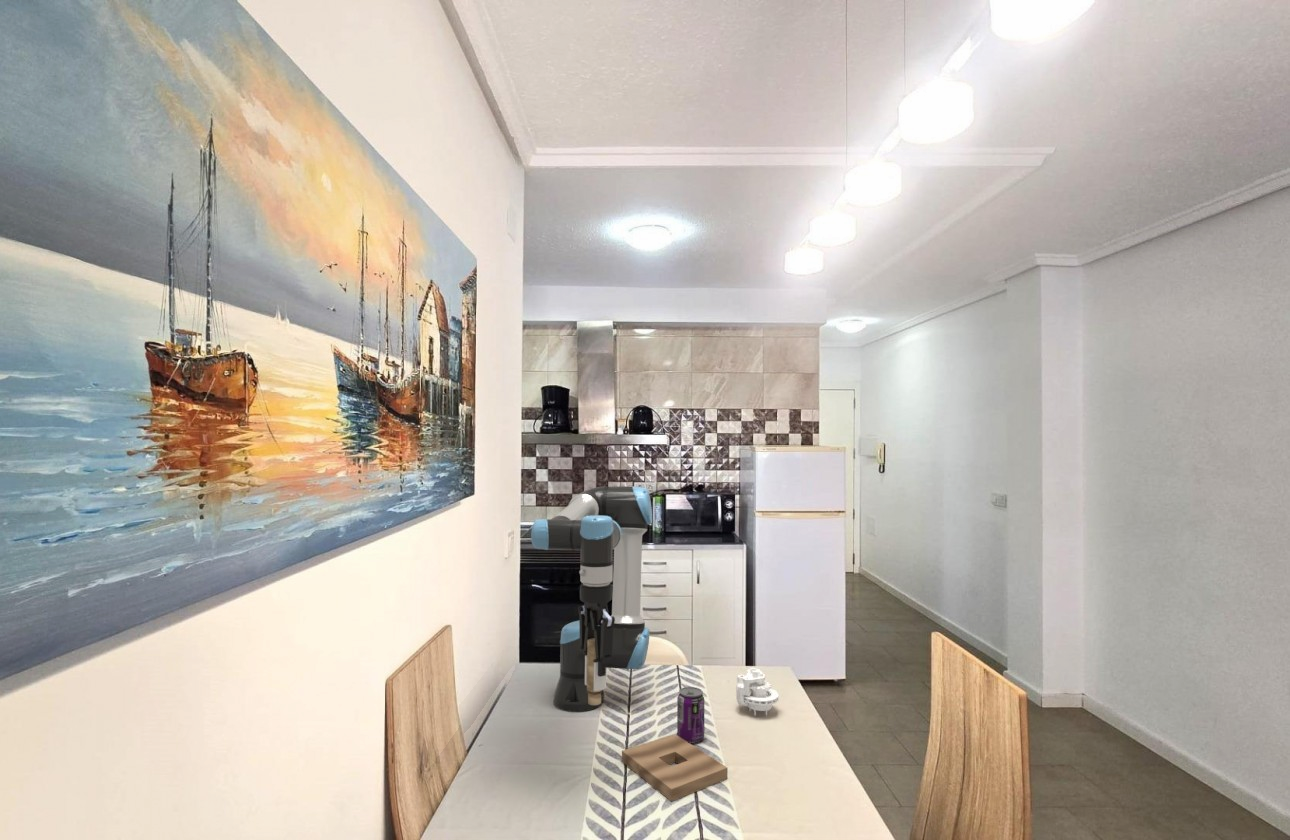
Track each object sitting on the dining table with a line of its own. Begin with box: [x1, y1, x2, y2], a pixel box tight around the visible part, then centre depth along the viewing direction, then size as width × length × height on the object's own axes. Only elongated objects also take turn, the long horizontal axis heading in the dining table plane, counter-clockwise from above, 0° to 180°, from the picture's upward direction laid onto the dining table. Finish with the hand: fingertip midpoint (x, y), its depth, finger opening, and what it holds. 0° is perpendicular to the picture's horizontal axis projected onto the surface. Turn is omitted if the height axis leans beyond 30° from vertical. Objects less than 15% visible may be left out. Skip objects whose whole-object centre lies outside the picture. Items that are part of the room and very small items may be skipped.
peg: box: [587, 638, 604, 705], centre depth 136 cm, size 4×4×14 cm
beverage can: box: [676, 686, 705, 744], centre depth 154 cm, size 7×7×12 cm
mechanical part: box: [735, 667, 779, 717], centre depth 171 cm, size 11×12×12 cm
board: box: [621, 733, 729, 802], centre depth 138 cm, size 20×16×2 cm
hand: (595, 686), depth 135 cm, fingers closed on peg, 3 cm apart
